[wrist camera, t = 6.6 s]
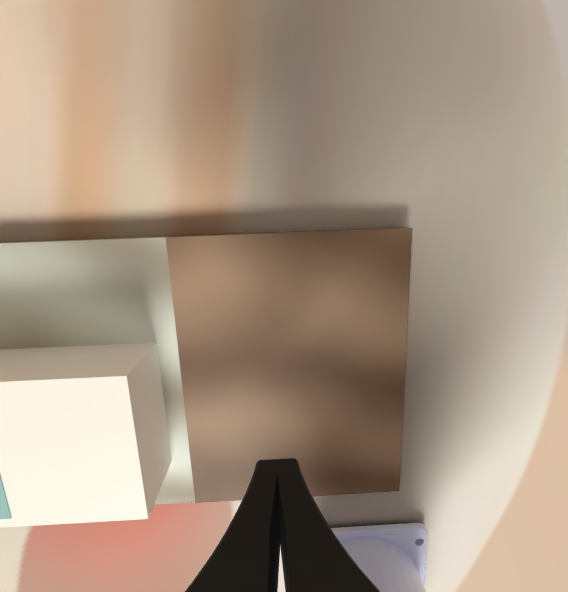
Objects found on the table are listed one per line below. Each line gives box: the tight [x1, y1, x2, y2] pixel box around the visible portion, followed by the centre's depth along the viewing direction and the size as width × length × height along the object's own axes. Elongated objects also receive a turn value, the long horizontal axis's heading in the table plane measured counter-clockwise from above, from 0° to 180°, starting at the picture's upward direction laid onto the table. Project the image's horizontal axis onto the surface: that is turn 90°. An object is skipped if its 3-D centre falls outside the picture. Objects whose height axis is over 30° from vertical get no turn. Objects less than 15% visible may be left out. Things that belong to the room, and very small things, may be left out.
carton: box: [0, 342, 172, 527], centre depth 15 cm, size 6×9×4 cm
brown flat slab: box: [0, 228, 412, 504], centre depth 17 cm, size 14×22×2 cm, turn 92°
